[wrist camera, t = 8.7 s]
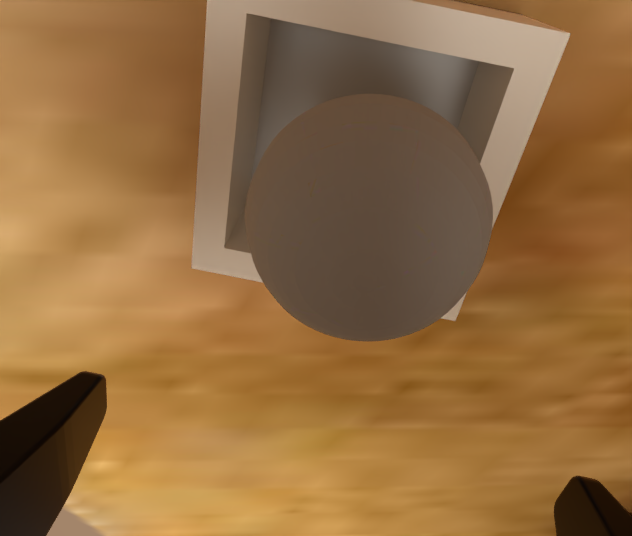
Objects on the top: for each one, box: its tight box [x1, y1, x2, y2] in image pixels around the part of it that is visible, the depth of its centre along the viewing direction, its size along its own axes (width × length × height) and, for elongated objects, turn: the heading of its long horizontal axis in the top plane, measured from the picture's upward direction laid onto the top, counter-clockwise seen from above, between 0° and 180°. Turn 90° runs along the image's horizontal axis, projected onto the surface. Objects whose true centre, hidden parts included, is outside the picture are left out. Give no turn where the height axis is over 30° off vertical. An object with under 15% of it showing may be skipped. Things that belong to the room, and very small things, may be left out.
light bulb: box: [245, 94, 493, 341], centre depth 14 cm, size 5×6×10 cm
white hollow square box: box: [191, 0, 571, 321], centre depth 17 cm, size 9×9×5 cm
